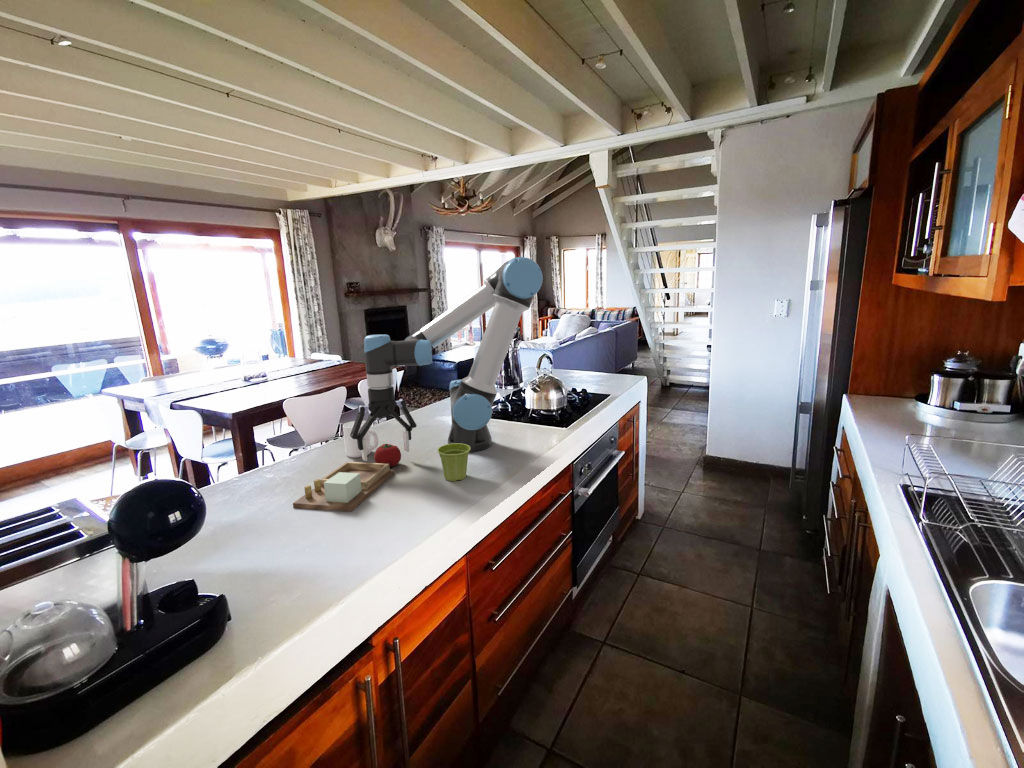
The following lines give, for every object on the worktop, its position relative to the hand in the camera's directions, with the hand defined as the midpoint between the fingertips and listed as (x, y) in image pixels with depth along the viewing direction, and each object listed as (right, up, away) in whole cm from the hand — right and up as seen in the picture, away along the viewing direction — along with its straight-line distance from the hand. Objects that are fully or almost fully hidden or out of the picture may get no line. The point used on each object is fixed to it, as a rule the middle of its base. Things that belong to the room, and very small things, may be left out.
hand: (386, 454), depth 144 cm
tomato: (0, -4, +1) cm, 4 cm away
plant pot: (+23, -5, -10) cm, 25 cm away
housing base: (-6, -7, -16) cm, 19 cm away
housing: (-5, -7, -23) cm, 25 cm away
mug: (-11, -2, +12) cm, 16 cm away
